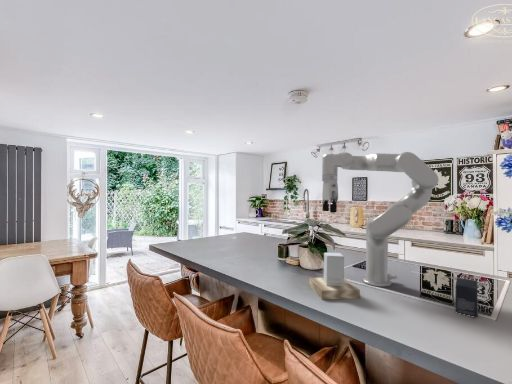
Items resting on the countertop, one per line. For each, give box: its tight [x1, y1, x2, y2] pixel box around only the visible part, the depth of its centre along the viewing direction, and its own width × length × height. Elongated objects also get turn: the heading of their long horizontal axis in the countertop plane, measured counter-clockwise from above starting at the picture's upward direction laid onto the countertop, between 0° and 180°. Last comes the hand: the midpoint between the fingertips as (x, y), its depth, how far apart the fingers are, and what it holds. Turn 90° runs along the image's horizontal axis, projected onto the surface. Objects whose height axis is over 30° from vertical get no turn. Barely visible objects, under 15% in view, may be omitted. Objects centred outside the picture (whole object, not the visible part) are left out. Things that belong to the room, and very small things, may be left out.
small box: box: [454, 277, 479, 318], centre depth 97 cm, size 11×6×10 cm, turn 141°
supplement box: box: [323, 252, 345, 286], centre depth 115 cm, size 7×7×13 cm
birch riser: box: [308, 277, 361, 300], centre depth 115 cm, size 16×16×4 cm
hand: (329, 211), depth 135 cm, fingers open, 9 cm apart
